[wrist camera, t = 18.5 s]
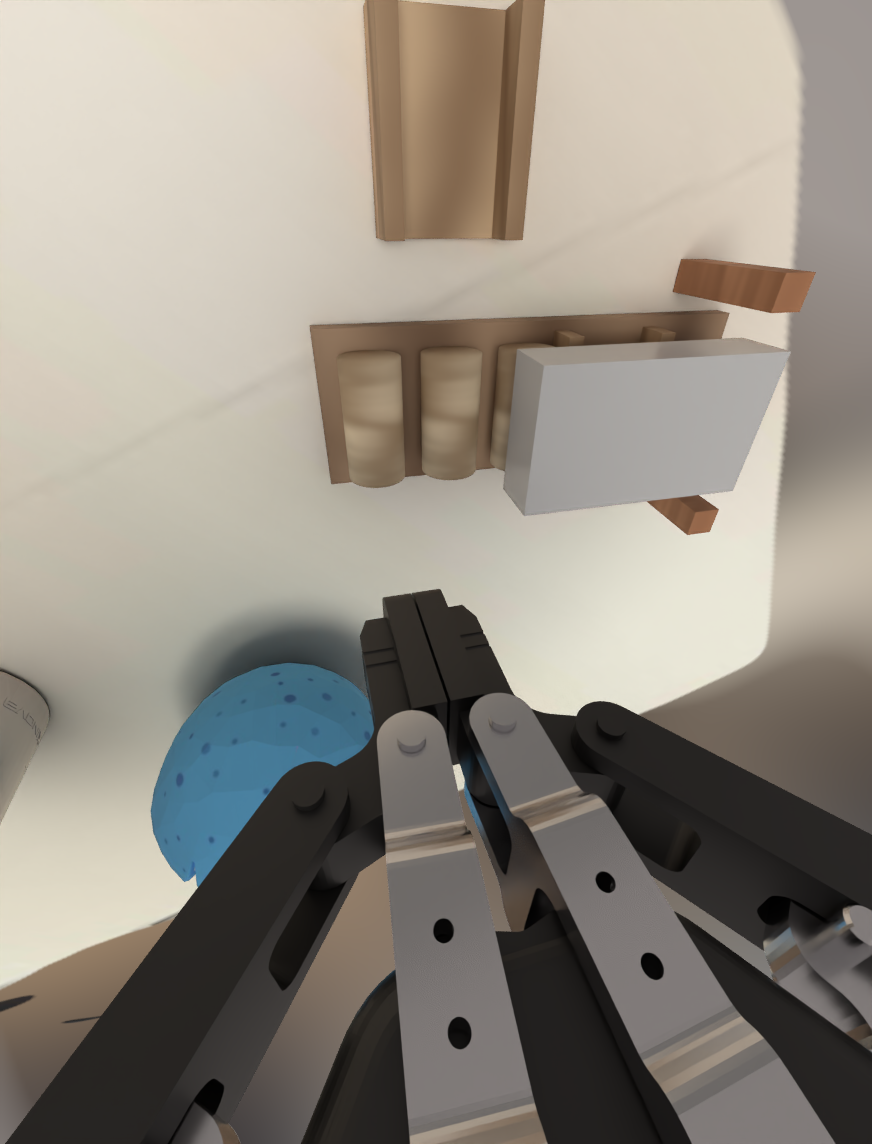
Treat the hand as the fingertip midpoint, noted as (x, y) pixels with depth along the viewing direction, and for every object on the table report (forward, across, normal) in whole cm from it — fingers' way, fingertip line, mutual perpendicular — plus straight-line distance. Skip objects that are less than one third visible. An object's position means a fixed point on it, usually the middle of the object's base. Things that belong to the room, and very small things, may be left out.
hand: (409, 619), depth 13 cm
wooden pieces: (+17, -10, -4) cm, 20 cm away
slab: (+13, -14, 0) cm, 19 cm away
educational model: (+18, +7, +23) cm, 30 cm away
